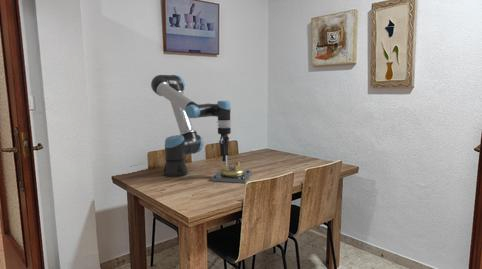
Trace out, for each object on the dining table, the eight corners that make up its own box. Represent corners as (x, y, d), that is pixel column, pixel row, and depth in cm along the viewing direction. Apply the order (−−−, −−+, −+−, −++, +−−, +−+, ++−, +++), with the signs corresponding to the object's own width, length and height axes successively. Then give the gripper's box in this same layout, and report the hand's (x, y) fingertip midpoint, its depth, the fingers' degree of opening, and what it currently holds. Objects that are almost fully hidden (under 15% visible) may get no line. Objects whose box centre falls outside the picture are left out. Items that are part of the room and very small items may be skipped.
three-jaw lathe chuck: (235, 178, 193) (235, 167, 192) (215, 174, 201) (215, 164, 200) (248, 172, 205) (248, 162, 204) (229, 169, 212) (229, 159, 211)
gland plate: (211, 181, 196) (211, 176, 195) (220, 172, 215) (220, 168, 215) (245, 183, 191) (245, 178, 191) (252, 174, 211) (252, 170, 210)
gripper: (221, 125, 209) (221, 163, 212) (214, 128, 196) (215, 168, 199) (233, 126, 207) (233, 164, 210) (227, 128, 194) (227, 169, 198)
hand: (224, 166), depth 205 cm, fingers closed
